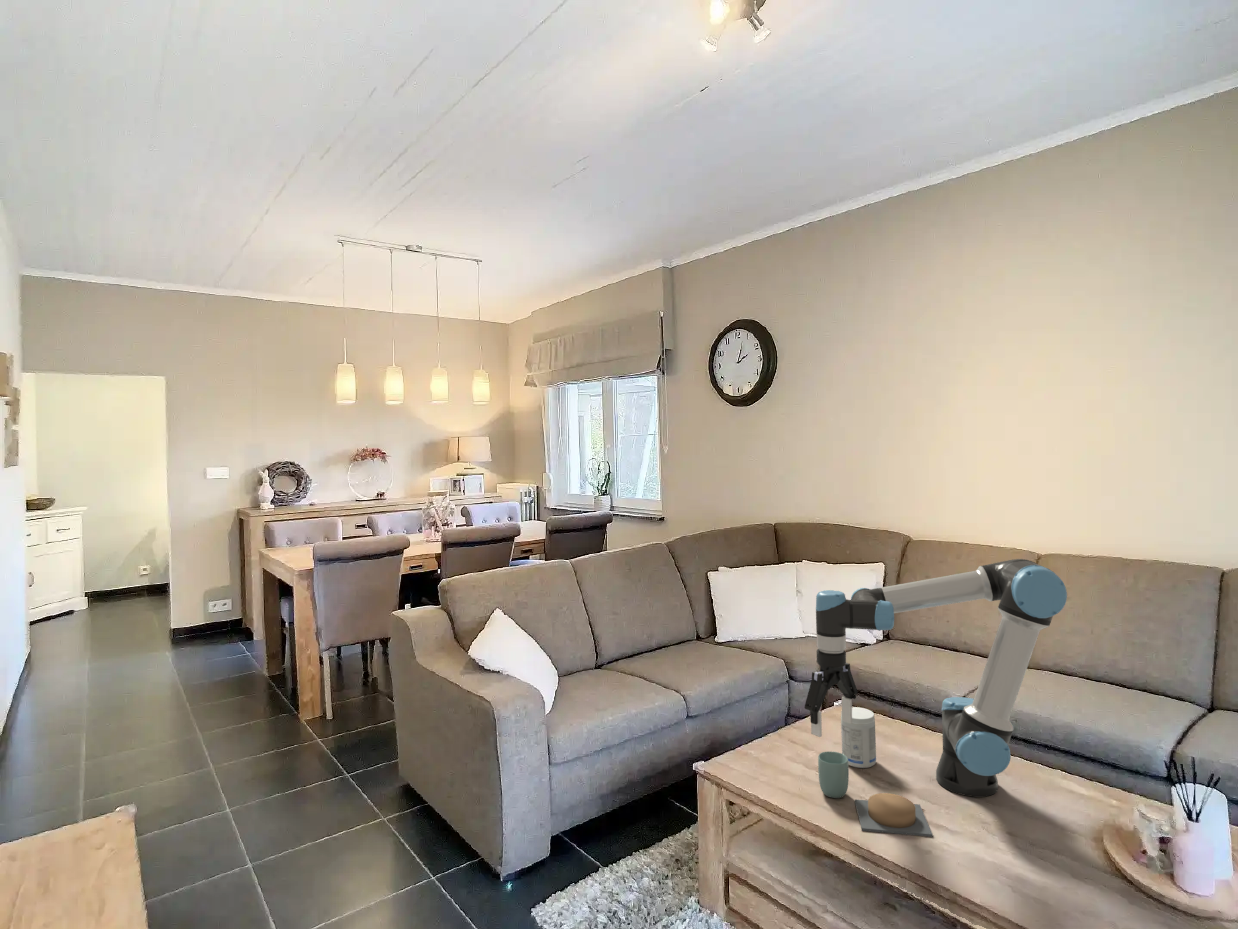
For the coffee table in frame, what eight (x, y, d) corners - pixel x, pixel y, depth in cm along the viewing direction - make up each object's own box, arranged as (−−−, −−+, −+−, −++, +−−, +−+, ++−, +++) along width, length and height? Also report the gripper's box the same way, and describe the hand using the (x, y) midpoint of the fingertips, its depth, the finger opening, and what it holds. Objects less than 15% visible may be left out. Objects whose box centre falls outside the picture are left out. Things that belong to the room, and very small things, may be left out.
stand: (919, 806, 178) (919, 793, 178) (932, 837, 164) (932, 822, 164) (854, 801, 181) (854, 788, 181) (861, 830, 167) (861, 816, 167)
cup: (850, 803, 181) (850, 765, 180) (819, 800, 182) (819, 763, 182) (847, 788, 188) (846, 752, 188) (817, 786, 190) (816, 750, 190)
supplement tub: (864, 753, 209) (863, 705, 209) (883, 767, 200) (882, 716, 200) (835, 757, 207) (834, 708, 207) (852, 771, 198) (852, 720, 198)
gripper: (846, 638, 195) (847, 712, 195) (789, 655, 180) (791, 736, 180) (870, 643, 189) (871, 720, 189) (814, 662, 174) (815, 746, 174)
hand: (832, 728), depth 185 cm, fingers open, 13 cm apart
